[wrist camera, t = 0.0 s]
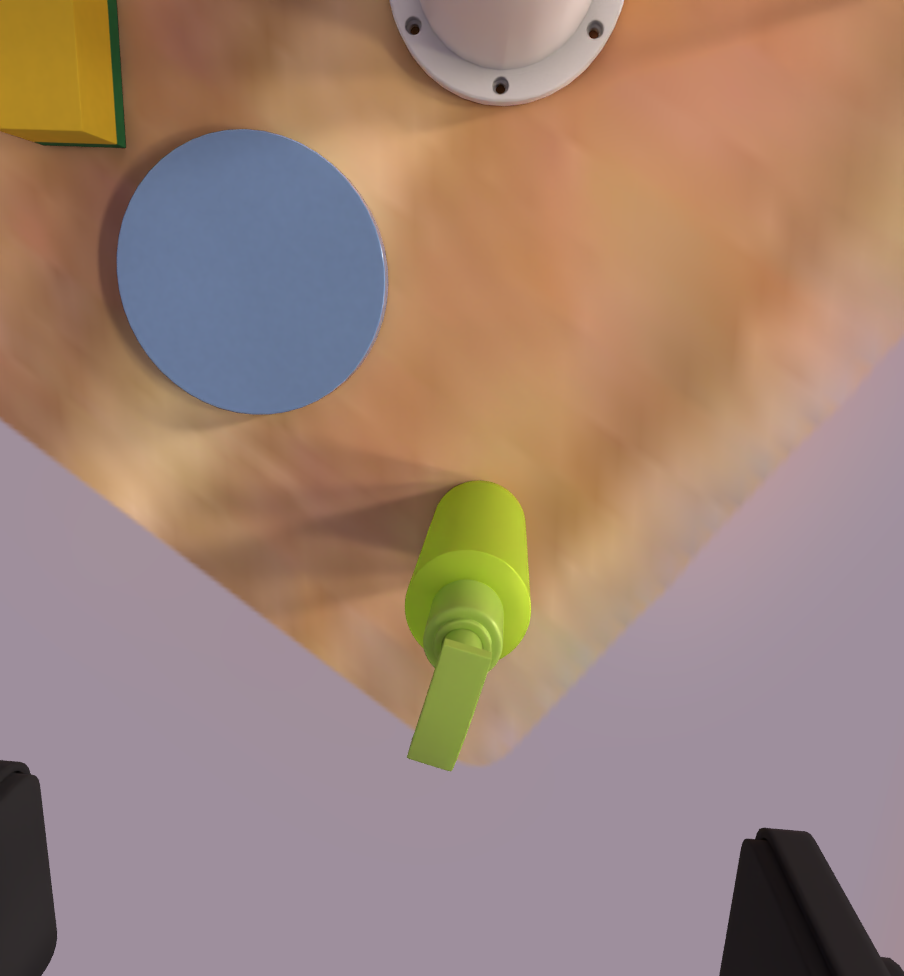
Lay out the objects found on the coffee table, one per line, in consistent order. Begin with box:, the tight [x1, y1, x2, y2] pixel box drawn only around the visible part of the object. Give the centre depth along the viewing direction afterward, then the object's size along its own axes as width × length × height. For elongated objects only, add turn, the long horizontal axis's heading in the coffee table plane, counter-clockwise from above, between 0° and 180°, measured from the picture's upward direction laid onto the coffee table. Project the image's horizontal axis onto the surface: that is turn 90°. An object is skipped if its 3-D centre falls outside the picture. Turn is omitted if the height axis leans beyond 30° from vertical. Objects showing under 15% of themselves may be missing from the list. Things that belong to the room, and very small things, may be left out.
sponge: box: [0, 0, 126, 148], centre depth 40 cm, size 8×5×4 cm, turn 177°
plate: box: [117, 129, 388, 415], centre depth 43 cm, size 16×16×1 cm
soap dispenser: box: [405, 481, 531, 771], centre depth 37 cm, size 6×7×20 cm
